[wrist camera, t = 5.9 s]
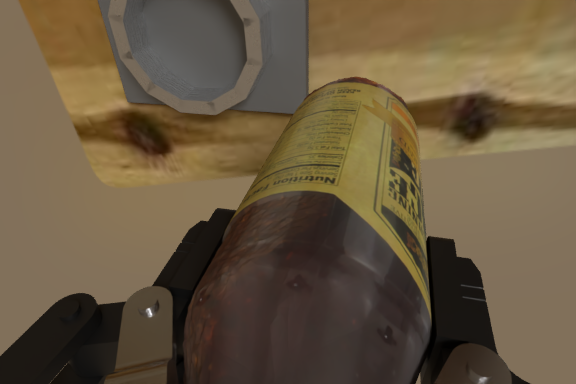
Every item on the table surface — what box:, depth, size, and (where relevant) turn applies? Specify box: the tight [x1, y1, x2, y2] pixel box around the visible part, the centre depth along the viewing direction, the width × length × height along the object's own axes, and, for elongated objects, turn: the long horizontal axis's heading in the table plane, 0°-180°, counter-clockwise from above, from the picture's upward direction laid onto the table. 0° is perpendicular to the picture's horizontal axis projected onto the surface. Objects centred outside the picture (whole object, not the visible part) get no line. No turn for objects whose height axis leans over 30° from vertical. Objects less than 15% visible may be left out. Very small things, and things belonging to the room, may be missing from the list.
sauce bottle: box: [183, 77, 432, 384], centre depth 12 cm, size 7×6×20 cm
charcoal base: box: [98, 0, 308, 114], centre depth 33 cm, size 18×14×1 cm
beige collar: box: [108, 0, 273, 115], centre depth 31 cm, size 12×12×3 cm
